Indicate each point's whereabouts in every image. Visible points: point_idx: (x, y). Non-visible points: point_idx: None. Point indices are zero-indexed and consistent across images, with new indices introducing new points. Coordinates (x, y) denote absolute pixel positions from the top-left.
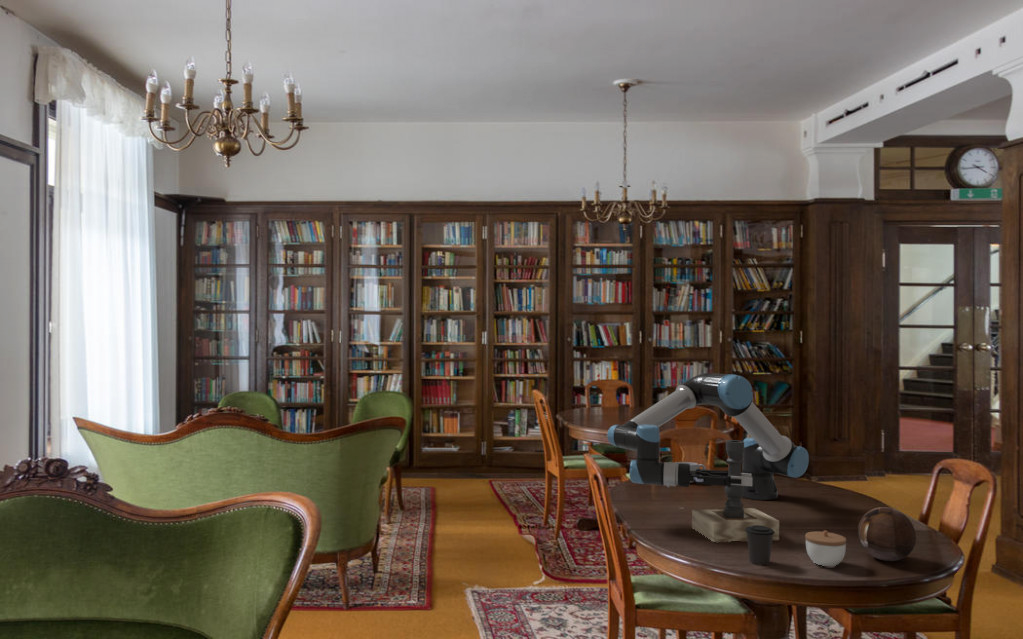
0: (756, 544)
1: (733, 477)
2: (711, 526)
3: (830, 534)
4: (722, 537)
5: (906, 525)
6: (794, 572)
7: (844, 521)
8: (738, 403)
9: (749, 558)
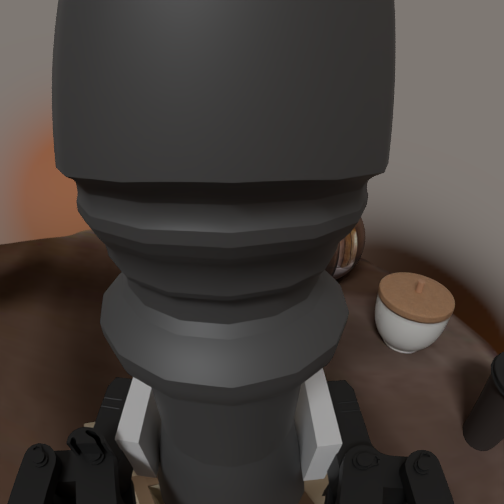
0: None
1: (335, 428)
2: None
3: (399, 285)
4: None
5: None
6: (485, 372)
7: (78, 283)
8: None
9: (497, 443)
